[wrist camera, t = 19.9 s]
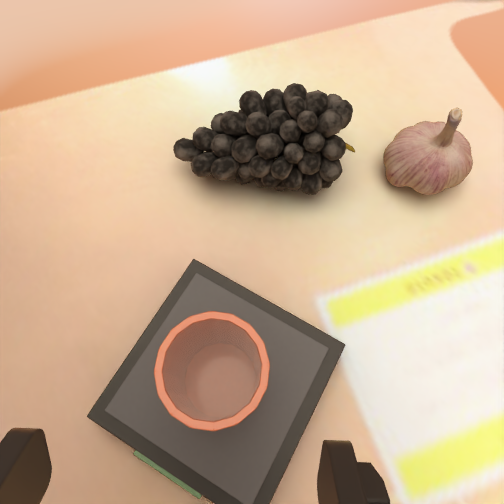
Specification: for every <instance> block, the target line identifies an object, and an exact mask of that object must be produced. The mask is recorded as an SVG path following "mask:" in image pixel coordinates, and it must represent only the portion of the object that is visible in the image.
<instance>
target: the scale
mask: <svg viewBox="0 0 504 504" xmlns="http://www.w3.org/2000/svg"><path fill="white" fill-rule="evenodd" d="M208 311H216V312H224V313H231V314H234V315H235V316H237V317H239V318H240V319H242V320H244V321H246V322H247V323H249V324H250V325H251V326H252V327H253V328H254V329H255V331H256V332H257V333H258V335H259V336H260V337H261V339H262V340H263V341H264V344H265V347H266V351H267V354H268V358H269V362H270V370H269V379H268V387H267V390H266V392H265V393H264V395H263V397H262V399H261V401H260V403H259V405H258V407H257V408H256V409H255V411H253V412H252V413H251V414H250V415H248V416H247V417H246V418H245V419H244V420H242V421H241V422H240V423H239V424H237V425H235V426H231V427H228V428H225V429H221V430H218V431H207V430H200V429H193V428H189V427H188V426H186V425H185V424H183V423H182V422H180V421H179V420H177V419H175V418H174V417H172V416H171V415H170V414H169V412H168V411H167V409H166V408H165V406H164V404H163V403H162V401H161V400H160V398H159V397H158V394H157V389H156V383H155V377H154V367H155V363H156V358H157V353H158V349H159V347H160V346H161V344H162V343H163V341H164V340H165V338H166V337H167V335H168V333H169V332H170V330H172V328H174V327H175V326H176V325H178V324H179V323H181V322H182V321H183V320H185V319H186V318H188V317H190V316H192V315H196V314H200V313H204V312H208ZM344 347H345V344H344V343H342V342H340V341H338V340H337V339H335V338H333V337H331V336H330V335H328V334H326V333H324V332H322V331H321V330H319V329H317V328H315V327H314V326H312V325H310V324H308V323H306V322H305V321H303V320H301V319H299V318H298V317H296V316H294V315H292V314H291V313H289V312H287V311H285V310H283V309H282V308H280V307H278V306H276V305H275V304H273V303H271V302H269V301H268V300H266V299H264V298H262V297H260V296H259V295H257V294H255V293H253V292H252V291H250V290H248V289H246V288H245V287H243V286H241V285H239V284H237V283H236V282H234V281H232V280H230V279H229V278H227V277H225V276H223V275H221V274H220V273H218V272H216V271H214V270H213V269H211V268H209V267H207V266H206V265H204V264H202V263H200V262H198V261H197V260H195V259H193V260H192V262H191V263H190V265H189V266H188V268H187V269H186V271H185V272H184V274H183V275H182V277H181V278H180V280H179V281H178V283H177V284H176V285H175V287H174V288H173V290H172V291H171V293H170V294H169V296H168V297H167V299H166V300H165V302H164V303H163V305H162V306H161V308H160V309H159V310H158V312H157V313H156V315H155V316H154V318H153V319H152V321H151V322H150V324H149V325H148V327H147V328H146V330H145V331H144V333H143V334H142V336H141V337H140V338H139V340H138V341H137V343H136V344H135V346H134V347H133V349H132V350H131V352H130V353H129V355H128V356H127V358H126V359H125V361H124V362H123V363H122V365H121V366H120V368H119V369H118V371H117V372H116V374H115V375H114V377H113V378H112V380H111V381H110V383H109V384H108V386H107V387H106V389H105V390H104V391H103V393H102V394H101V396H100V397H99V399H98V400H97V402H96V403H95V405H94V406H93V408H92V409H91V411H90V412H89V414H88V415H87V417H88V418H89V419H91V420H92V421H94V422H95V423H97V424H98V425H100V426H101V427H103V428H104V429H106V430H107V431H108V432H110V433H111V434H113V435H114V436H116V437H117V438H119V439H120V440H122V441H123V442H125V443H126V444H128V445H129V446H131V447H132V448H134V449H135V452H134V453H133V454H134V455H135V456H137V457H138V458H140V459H141V460H142V461H144V462H145V463H147V464H148V465H150V466H151V467H153V468H154V469H156V470H157V471H159V472H160V473H162V474H163V475H164V476H166V477H167V478H169V479H170V480H172V481H173V482H175V483H176V484H178V485H179V486H181V487H182V488H184V489H185V490H186V491H188V492H189V493H191V494H192V495H194V496H195V497H197V498H198V499H200V498H201V496H202V495H203V496H204V497H206V498H207V499H209V500H210V501H212V502H213V503H215V504H270V502H271V500H272V497H273V495H274V493H275V491H276V489H277V487H278V485H279V483H280V481H281V479H282V477H283V474H284V472H285V470H286V468H287V466H288V464H289V462H290V460H291V458H292V456H293V454H294V451H295V449H296V447H297V445H298V443H299V441H300V439H301V437H302V435H303V433H304V431H305V429H306V426H307V424H308V422H309V420H310V418H311V416H312V414H313V412H314V410H315V408H316V406H317V403H318V401H319V399H320V397H321V395H322V393H323V391H324V389H325V387H326V385H327V383H328V381H329V378H330V376H331V374H332V372H333V370H334V368H335V366H336V364H337V362H338V360H339V358H340V355H341V353H342V351H343V349H344Z"/></svg>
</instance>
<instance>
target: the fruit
mask: <svg viewBox="0 0 504 504" xmlns="http://www.w3.org/2000/svg"><path fill="white" fill-rule="evenodd" d="M239 101H240V108H241V110H239V112H233V111H227V112H225V113H219V114H217V115H215V116H214V118H213V119H212V121H211V128H212V130H211V129H209V128H206V127H199V128H198V129H197V130H196V131H195V132H194V133H193V140H189V139H185V138H182V139H180V140H178V141H177V142H176V143H175V145H174V153H175V156H176V157H177V158H179V159H181V160H182V161H189V162H192V163H191V166H192V171H193V172H194V173H195V174H196V175H197V176H200V177H205V176H209V175H210V174H212V175H213V177H215V178H217V179H219V180H231V179H234V178H235V180H236V181H237V182H239V183H240V184H241V185H243V184H247V183H250V181H251V180H252V179H254V181H255V183H256V185H257V186H259V187H268V188H274V189H276V190H278V191H283V190H285V188H287V189H290V190H292V191H293V190H299V189H300V188H302V191H303V192H305V193H306V194H308V195H314V194H316V193H317V192H318V191H319V190H320V189H321V188H328V187H330V186H331V184H332V182H333V181H335V180H336V179H337V178H338V177H339V176H340V175H341V173H342V167H341V164H340V160H339V159H340V158H341V157H342V156H343V154H344V153H345V150H346V149H348V150H350V151H352V152H354V153H355V150H354V148H353V147H352V146H350V145H348V144H347V143H345V142H344V141H343V140H342V138H340V137H338V136H337V135H335V134H337V133H339V131H340V130H341V129H343V128H345V127H346V126H347V125H348V124H349V122H350V121H351V117H352V112H353V109H352V105H351V104H350V103H349V102H348V101H347V100H342V98H341V97H340V96H338V95H336V94H330V95H328V96H327V94H325V93H323V92H321V91H319V90H317V91H313V92H309V93H307V92H306V89H305V88H304V87H303V85H301V84H296V83H293V84H291V85H289V86H287V88H286V89H285V91H284V93H283V92H281V91H280V90H279V89H271V90H269V91H267V92H266V94H265V96H264V98H263V99H262V97H261V95H260V94H259V93H258V92H257V91H252V90H251V91H247V92H245V93H244V94H243V95H242V96H241V98H240V100H239ZM204 151H206V152H204ZM203 152H204V153H203ZM277 157H278V158H277ZM275 158H277V159H276V160H275V161H274V159H275Z"/></svg>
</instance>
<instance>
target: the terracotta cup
mask: <svg viewBox="0 0 504 504" xmlns="http://www.w3.org/2000/svg"><path fill="white" fill-rule="evenodd" d="M269 370H270V362H269V358H268V354H267V351H266V347H265V344H264V341H263V340H262V339H261V337H260V336H259V335H258V333H257V332H256V331H255V329H254V328H253V327H252V326H251V325H250V324H249V323H247V322H246V321H244V320H242V319H240V318H239V317H237V316H235V315H234V314H231V313H224V312H216V311H208V312H204V313H200V314H196V315H192V316H190V317H188V318H186V319H185V320H183V321H182V322H181V323H179V324H178V325H176V326H175V327H174V328H172V330H170V332H169V333H168V335H167V337H166V338H165V340H164V341H163V343H162V344H161V346H160V347H159V349H158V353H157V358H156V363H155V367H154V377H155V383H156V389H157V394H158V397H159V398H160V400H161V401H162V403H163V404H164V406H165V408H166V409H167V411H168V412H169V414H170V415H171V416H172V417H174V418H175V419H177V420H179V421H180V422H182V423H183V424H185V425H186V426H188V427H189V428H193V429H200V430H207V431H218V430H221V429H225V428H228V427H231V426H235V425H237V424H239V423H240V422H241V421H242V420H244V419H245V418H246V417H247V416H248V415H250V414H251V413H252V412H253V411H255V409H256V408H257V407H258V405H259V403H260V401H261V399H262V397H263V395H264V393H265V392H266V390H267V387H268V379H269Z"/></svg>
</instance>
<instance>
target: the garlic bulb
mask: <svg viewBox="0 0 504 504" xmlns="http://www.w3.org/2000/svg"><path fill="white" fill-rule="evenodd" d="M461 117H462V111H461V109H459V108H455V109H452V110H451V111H450V112H449V115H448V120H447V123H446V124H445V123H444V122H434V123H433V122H427V121H424V122H420V123H417V124H416V125H414V126H410V127H407V128H405V129H403V130H401V131H400V132H399V133H398V134H397V135H396V136H395V138H394V140H393V141H392V142H391V143H390V144H389V145H388V146H387V148H386V149H385V152H384V164H385V167H386V177H387V180H388V181H389V182H390V183H391V184H392V185H394V186H397V187H402V186H409V187H411V188H413V189H414V190H415V191H417V192H419V193H421V194H427V195H431V194H437V193H439V192H441V191H443V190H444V189H446V188H451V187H454V186H456V185H458V184H460V183H461V182H462V181H463V180H464V179H465V177H466V176H467V175H468V174H469V173H470V171H471V169H472V164H473V160H472V156H471V147H470V144H469V142H468V141H467V139H466V138H465V137H464V136H463V135H462V134H461V133H460V132H458V131H456V128H457V126H458V125H459V123H460V121H461Z"/></svg>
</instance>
